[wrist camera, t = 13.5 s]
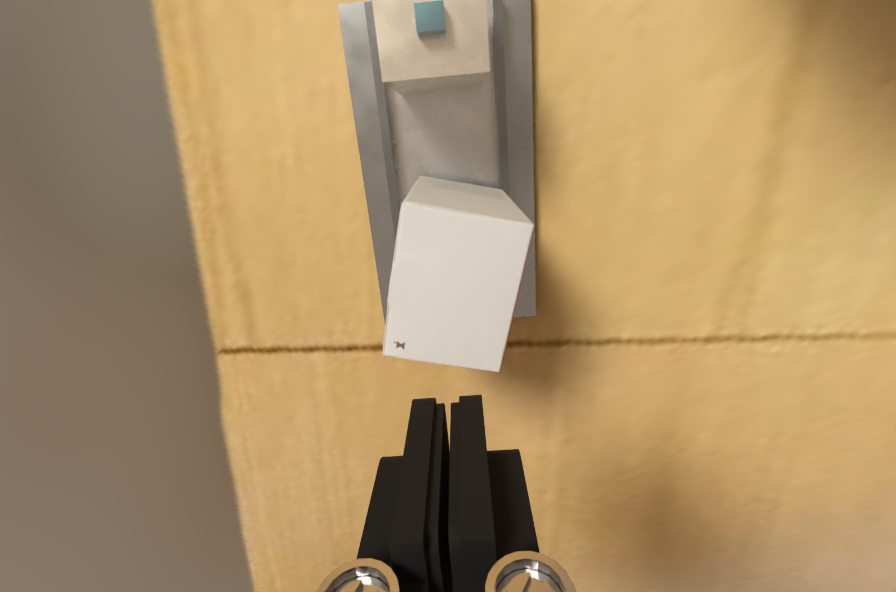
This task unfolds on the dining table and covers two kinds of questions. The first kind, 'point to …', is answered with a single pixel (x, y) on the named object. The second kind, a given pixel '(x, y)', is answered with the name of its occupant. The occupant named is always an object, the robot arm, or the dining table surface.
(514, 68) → the rail board
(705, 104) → the dining table surface
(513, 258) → the small box
